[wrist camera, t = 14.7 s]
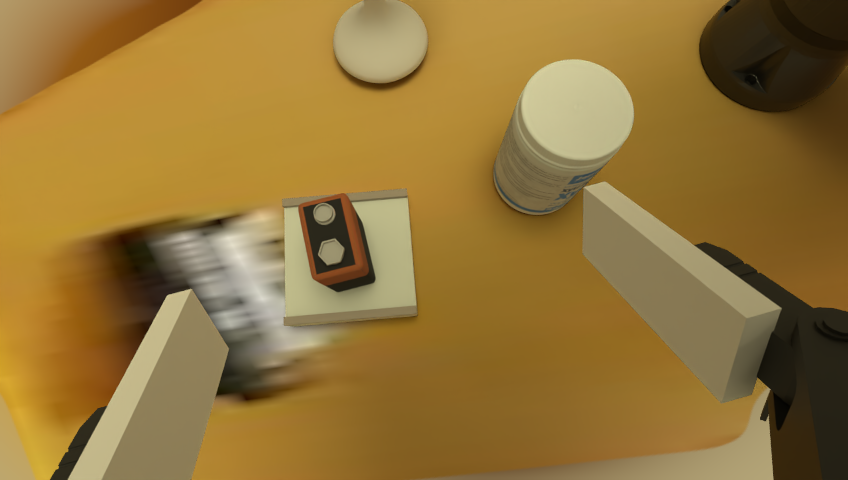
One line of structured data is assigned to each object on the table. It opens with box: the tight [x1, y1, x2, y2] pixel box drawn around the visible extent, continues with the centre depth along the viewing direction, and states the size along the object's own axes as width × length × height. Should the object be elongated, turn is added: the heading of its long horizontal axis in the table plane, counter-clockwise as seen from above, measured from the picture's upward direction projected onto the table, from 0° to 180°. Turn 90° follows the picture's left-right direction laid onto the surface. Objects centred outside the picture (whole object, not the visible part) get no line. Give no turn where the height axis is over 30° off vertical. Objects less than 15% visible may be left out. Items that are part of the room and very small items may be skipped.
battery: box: [298, 193, 376, 292], centre depth 39 cm, size 4×7×10 cm, turn 15°
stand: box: [282, 189, 418, 327], centre depth 45 cm, size 13×13×4 cm
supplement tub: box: [493, 60, 634, 215], centre depth 42 cm, size 10×10×15 cm
